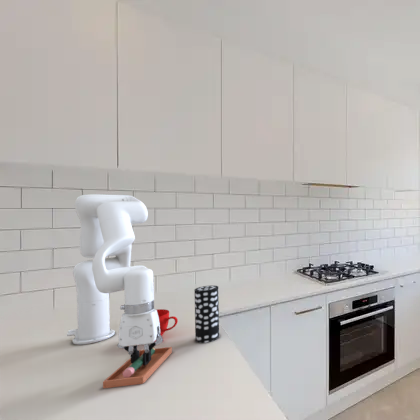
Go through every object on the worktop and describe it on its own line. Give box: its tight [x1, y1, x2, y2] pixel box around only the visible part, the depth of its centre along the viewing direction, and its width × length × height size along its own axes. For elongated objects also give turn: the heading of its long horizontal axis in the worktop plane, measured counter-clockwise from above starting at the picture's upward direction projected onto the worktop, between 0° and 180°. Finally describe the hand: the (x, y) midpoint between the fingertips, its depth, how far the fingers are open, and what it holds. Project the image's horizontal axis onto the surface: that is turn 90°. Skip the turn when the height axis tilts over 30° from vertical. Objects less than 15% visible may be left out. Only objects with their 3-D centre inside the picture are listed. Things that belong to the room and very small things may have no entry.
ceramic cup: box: [155, 308, 179, 341], centre depth 122 cm, size 13×17×10 cm
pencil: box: [123, 347, 156, 378], centre depth 100 cm, size 16×2×2 cm, turn 13°
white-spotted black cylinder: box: [194, 285, 220, 344], centre depth 122 cm, size 8×8×20 cm
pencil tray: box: [102, 346, 173, 389], centre depth 100 cm, size 10×20×2 cm, turn 13°
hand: (141, 363), depth 100 cm, fingers closed on pencil, 2 cm apart
